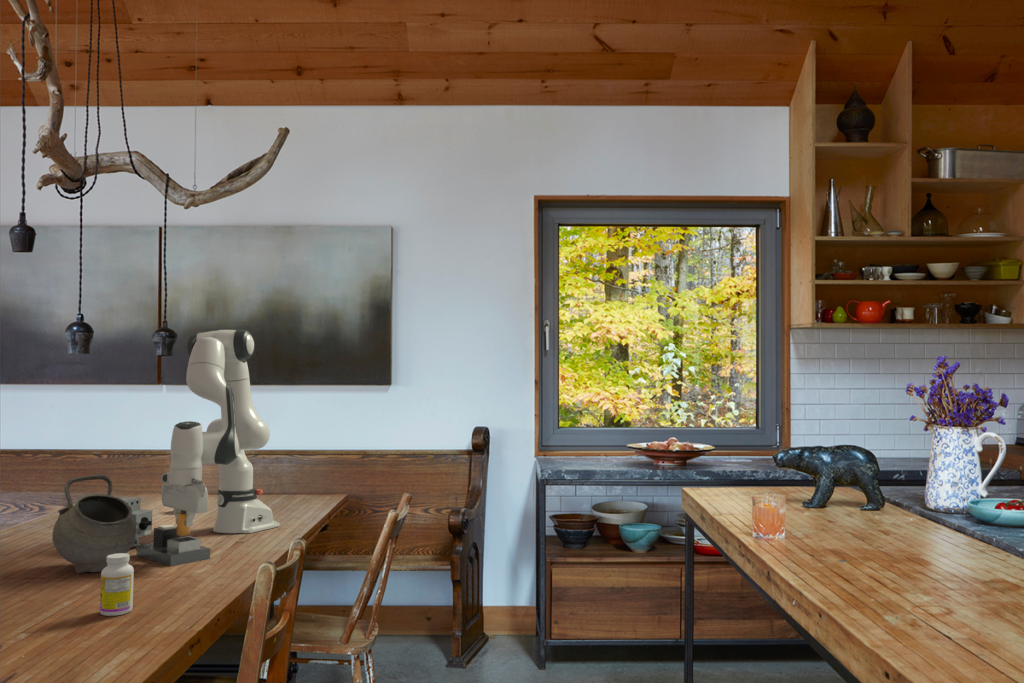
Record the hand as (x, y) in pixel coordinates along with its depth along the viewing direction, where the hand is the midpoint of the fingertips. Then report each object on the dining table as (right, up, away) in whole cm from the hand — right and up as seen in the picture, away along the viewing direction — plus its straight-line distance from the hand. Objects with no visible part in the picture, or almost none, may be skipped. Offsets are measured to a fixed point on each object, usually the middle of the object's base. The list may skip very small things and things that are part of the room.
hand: (183, 525), depth 222 cm
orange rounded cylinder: (0, -3, 0) cm, 3 cm away
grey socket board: (-5, -10, +3) cm, 12 cm away
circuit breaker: (-24, -11, +15) cm, 30 cm away
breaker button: (-8, -7, +6) cm, 12 cm away
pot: (-21, -10, -10) cm, 25 cm away
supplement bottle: (+6, -8, -49) cm, 50 cm away
